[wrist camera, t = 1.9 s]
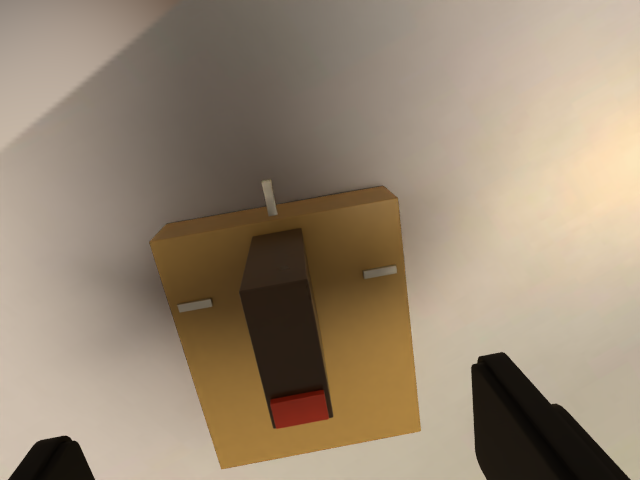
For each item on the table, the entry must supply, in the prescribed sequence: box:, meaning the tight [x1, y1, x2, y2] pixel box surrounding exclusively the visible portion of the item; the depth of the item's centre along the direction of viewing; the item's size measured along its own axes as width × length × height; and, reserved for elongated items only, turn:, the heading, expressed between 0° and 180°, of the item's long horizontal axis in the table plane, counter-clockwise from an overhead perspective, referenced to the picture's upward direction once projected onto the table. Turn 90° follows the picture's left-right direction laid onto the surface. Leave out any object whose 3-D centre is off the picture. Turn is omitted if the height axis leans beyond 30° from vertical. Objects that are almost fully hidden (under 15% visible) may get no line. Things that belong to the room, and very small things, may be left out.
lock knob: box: [239, 228, 334, 429], centre depth 15 cm, size 5×2×5 cm, turn 9°
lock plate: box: [149, 179, 421, 469], centre depth 19 cm, size 14×10×3 cm
